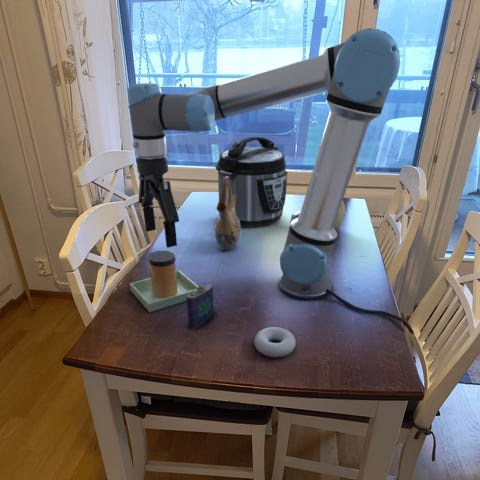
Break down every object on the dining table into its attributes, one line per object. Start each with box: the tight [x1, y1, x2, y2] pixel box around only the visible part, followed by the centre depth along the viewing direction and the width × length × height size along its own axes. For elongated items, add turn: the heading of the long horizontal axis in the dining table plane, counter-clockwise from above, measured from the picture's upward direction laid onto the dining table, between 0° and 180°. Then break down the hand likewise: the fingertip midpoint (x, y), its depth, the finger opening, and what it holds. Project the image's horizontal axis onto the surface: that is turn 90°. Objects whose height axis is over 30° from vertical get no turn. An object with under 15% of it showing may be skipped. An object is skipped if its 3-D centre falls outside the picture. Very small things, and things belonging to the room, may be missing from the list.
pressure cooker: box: [214, 135, 288, 227], centre depth 170 cm, size 30×28×32 cm
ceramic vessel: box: [214, 177, 242, 251], centre depth 146 cm, size 16×9×25 cm, turn 166°
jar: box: [147, 250, 178, 298], centre depth 121 cm, size 8×8×12 cm
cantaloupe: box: [334, 200, 347, 230], centre depth 163 cm, size 15×15×15 cm
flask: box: [186, 283, 215, 329], centre depth 109 cm, size 9×3×11 cm, turn 144°
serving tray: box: [129, 269, 199, 313], centre depth 124 cm, size 14×16×2 cm
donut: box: [253, 326, 296, 358], centre depth 101 cm, size 10×4×10 cm
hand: (160, 238), depth 115 cm, fingers open, 13 cm apart
